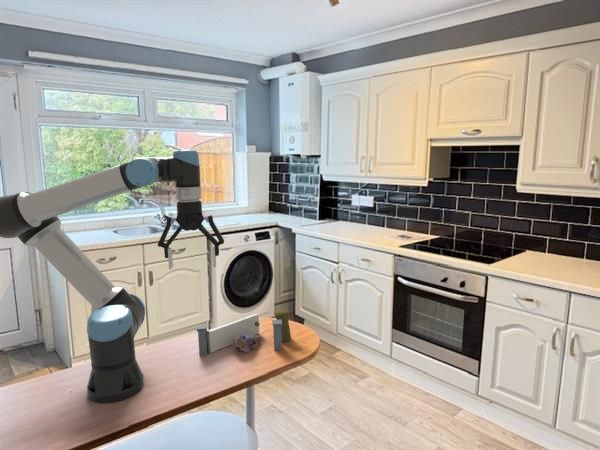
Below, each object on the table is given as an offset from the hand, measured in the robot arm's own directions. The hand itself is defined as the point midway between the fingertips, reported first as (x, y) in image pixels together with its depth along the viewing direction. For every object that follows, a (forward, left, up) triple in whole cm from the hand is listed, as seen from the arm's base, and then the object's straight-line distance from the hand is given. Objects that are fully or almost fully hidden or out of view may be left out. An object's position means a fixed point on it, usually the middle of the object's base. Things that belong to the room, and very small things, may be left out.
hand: (193, 267), depth 134 cm
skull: (+16, +5, -32) cm, 36 cm away
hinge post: (+1, +4, -32) cm, 32 cm away
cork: (+29, +11, -32) cm, 44 cm away
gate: (+12, +10, -32) cm, 35 cm away
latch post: (+27, +4, -32) cm, 42 cm away
